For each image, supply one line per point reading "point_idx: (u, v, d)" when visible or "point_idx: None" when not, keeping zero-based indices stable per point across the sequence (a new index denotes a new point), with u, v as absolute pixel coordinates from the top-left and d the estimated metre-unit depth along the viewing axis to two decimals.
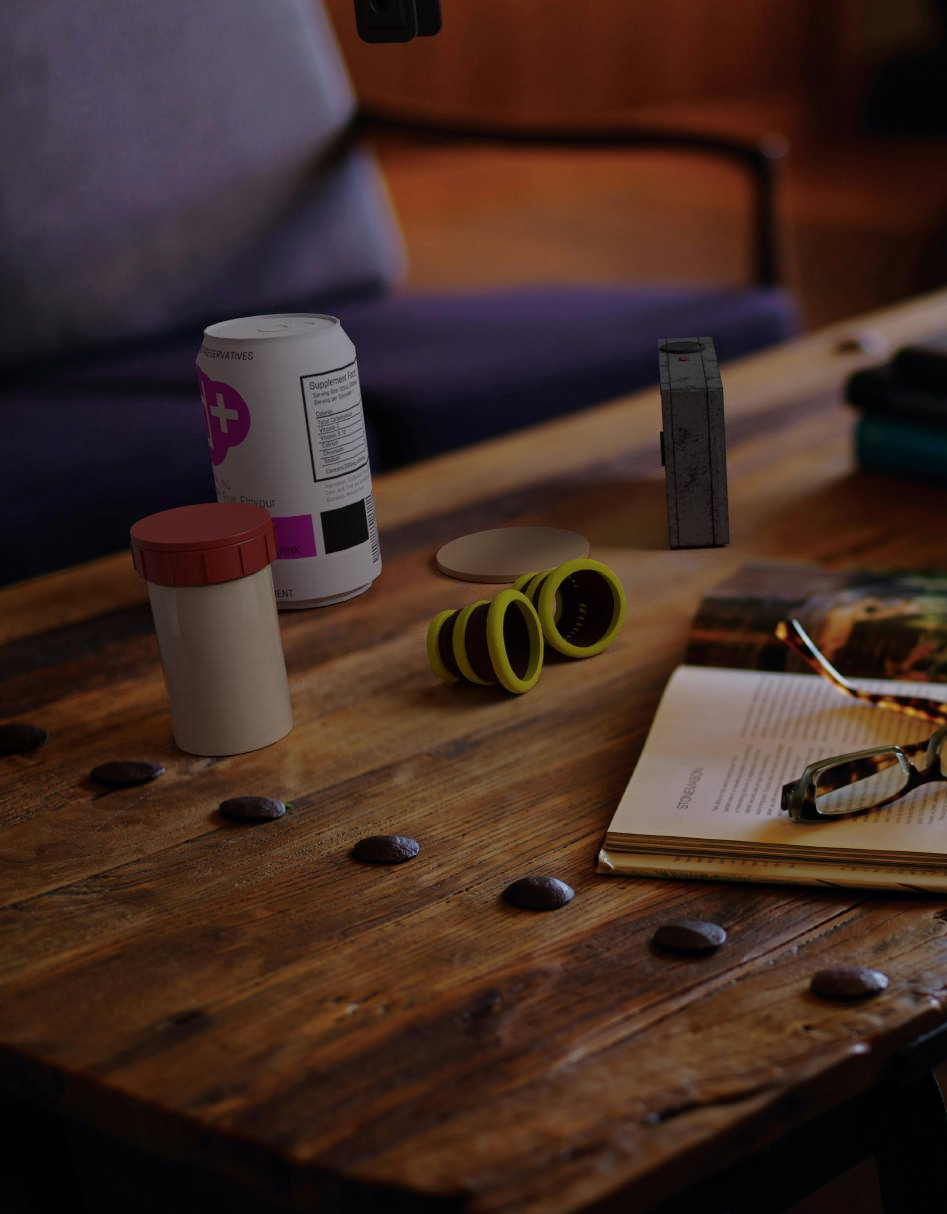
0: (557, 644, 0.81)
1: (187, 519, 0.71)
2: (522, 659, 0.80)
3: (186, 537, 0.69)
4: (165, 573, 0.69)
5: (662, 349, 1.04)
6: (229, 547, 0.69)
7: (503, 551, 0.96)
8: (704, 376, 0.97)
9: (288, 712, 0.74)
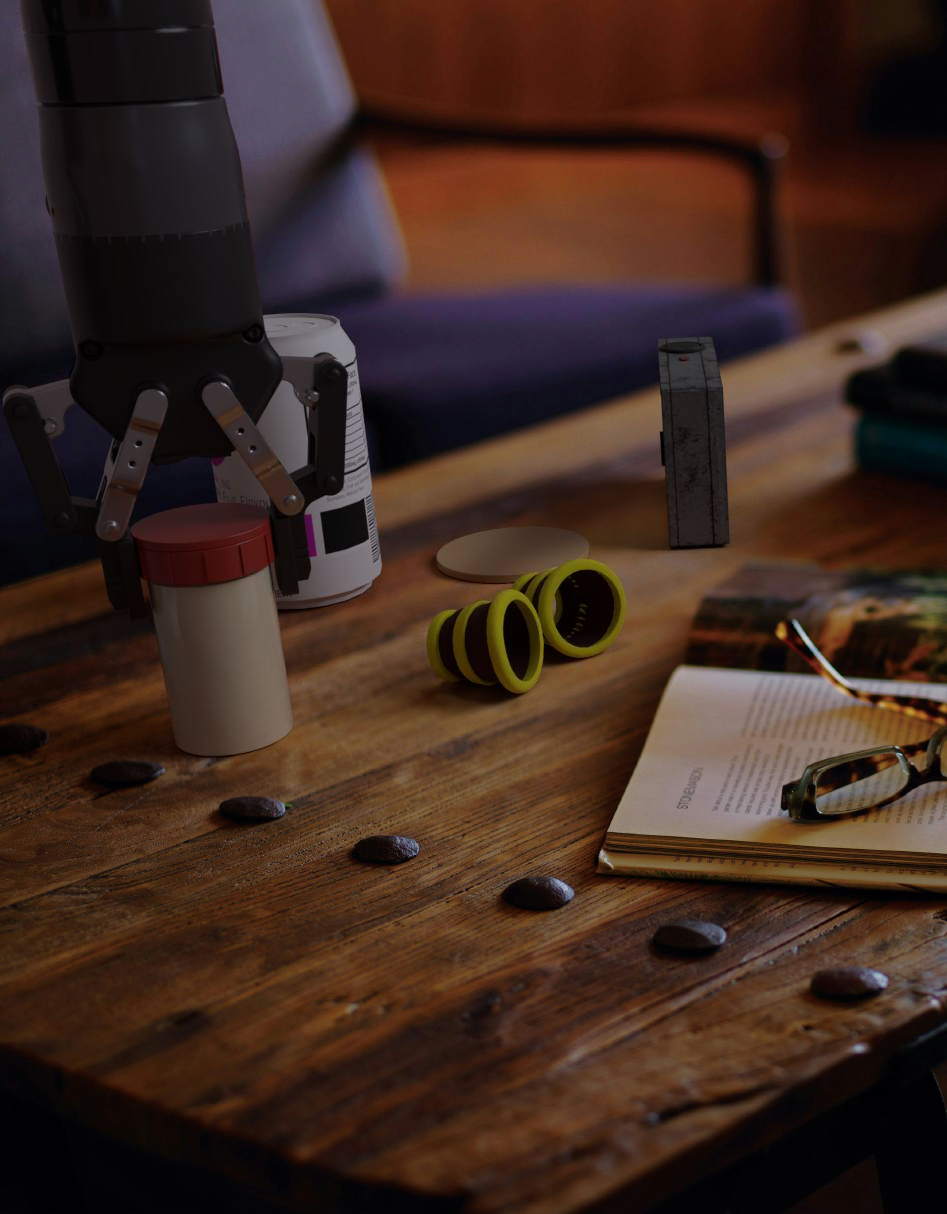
0: (557, 644, 0.81)
1: (187, 519, 0.71)
2: (522, 659, 0.80)
3: (186, 537, 0.69)
4: (165, 573, 0.69)
5: (662, 349, 1.04)
6: (229, 547, 0.69)
7: (503, 551, 0.96)
8: (704, 376, 0.97)
9: (288, 712, 0.74)
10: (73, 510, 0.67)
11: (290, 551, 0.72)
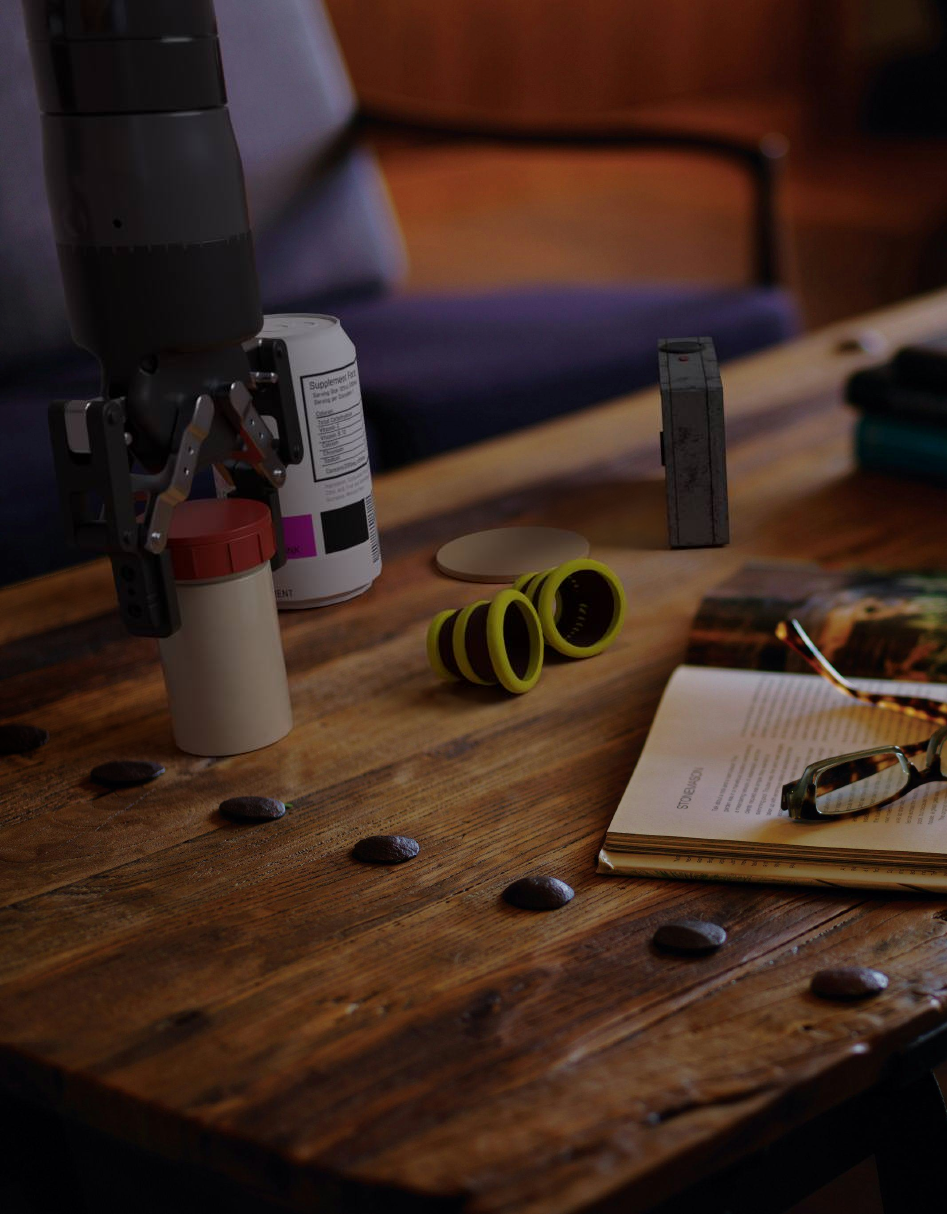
0: (557, 644, 0.81)
1: (182, 521, 0.70)
2: (522, 659, 0.80)
3: (249, 517, 0.71)
4: (257, 554, 0.70)
5: (662, 349, 1.04)
6: None
7: (503, 551, 0.96)
8: (704, 376, 0.97)
9: (288, 712, 0.74)
10: (134, 525, 0.64)
11: (280, 524, 0.75)
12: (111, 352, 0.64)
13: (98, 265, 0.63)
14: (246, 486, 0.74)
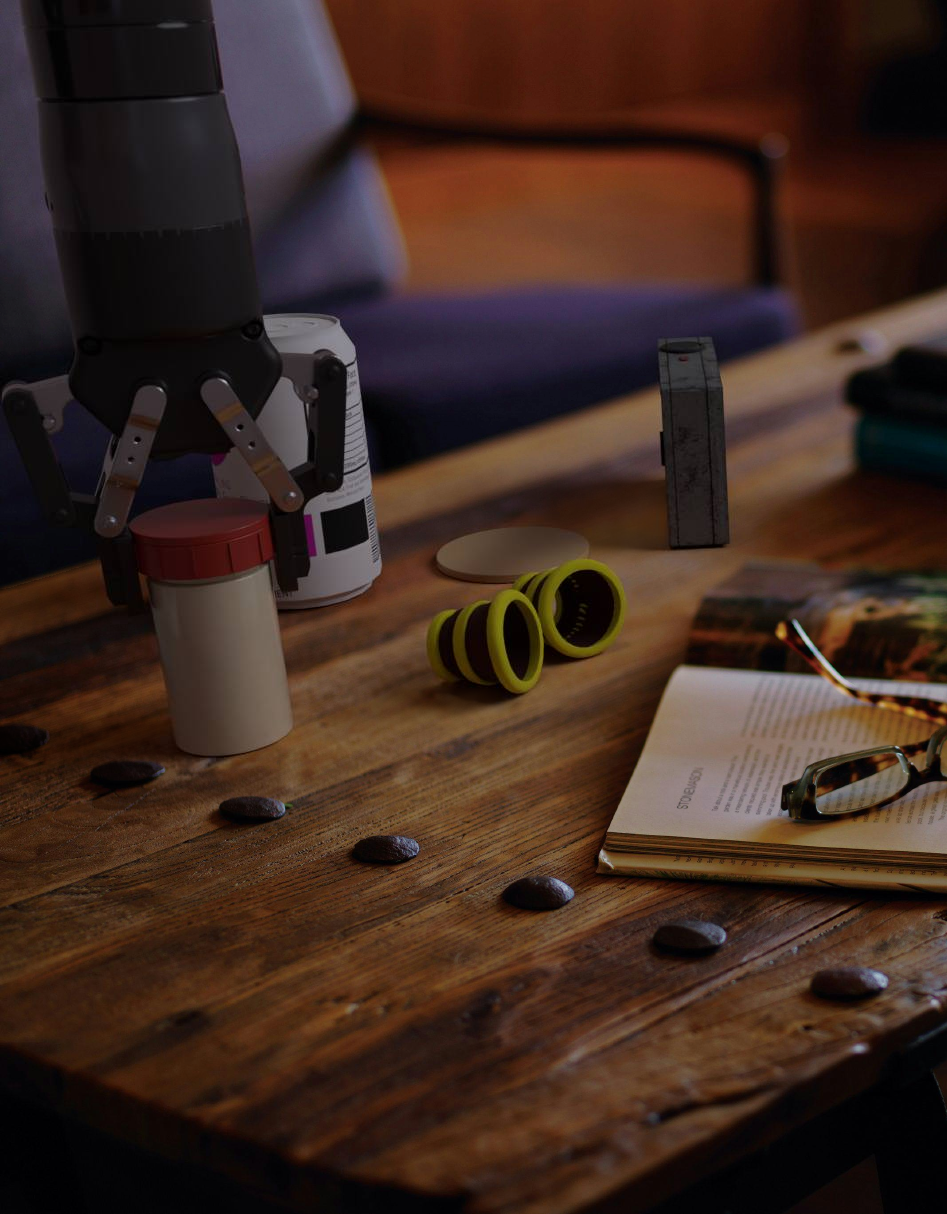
0: (557, 644, 0.81)
1: (182, 521, 0.70)
2: (522, 659, 0.80)
3: (249, 517, 0.71)
4: (256, 553, 0.70)
5: (662, 349, 1.04)
6: None
7: (503, 551, 0.96)
8: (704, 376, 0.97)
9: (288, 712, 0.74)
10: (71, 506, 0.67)
11: (289, 548, 0.72)
12: (71, 329, 0.67)
13: None
14: (271, 501, 0.72)
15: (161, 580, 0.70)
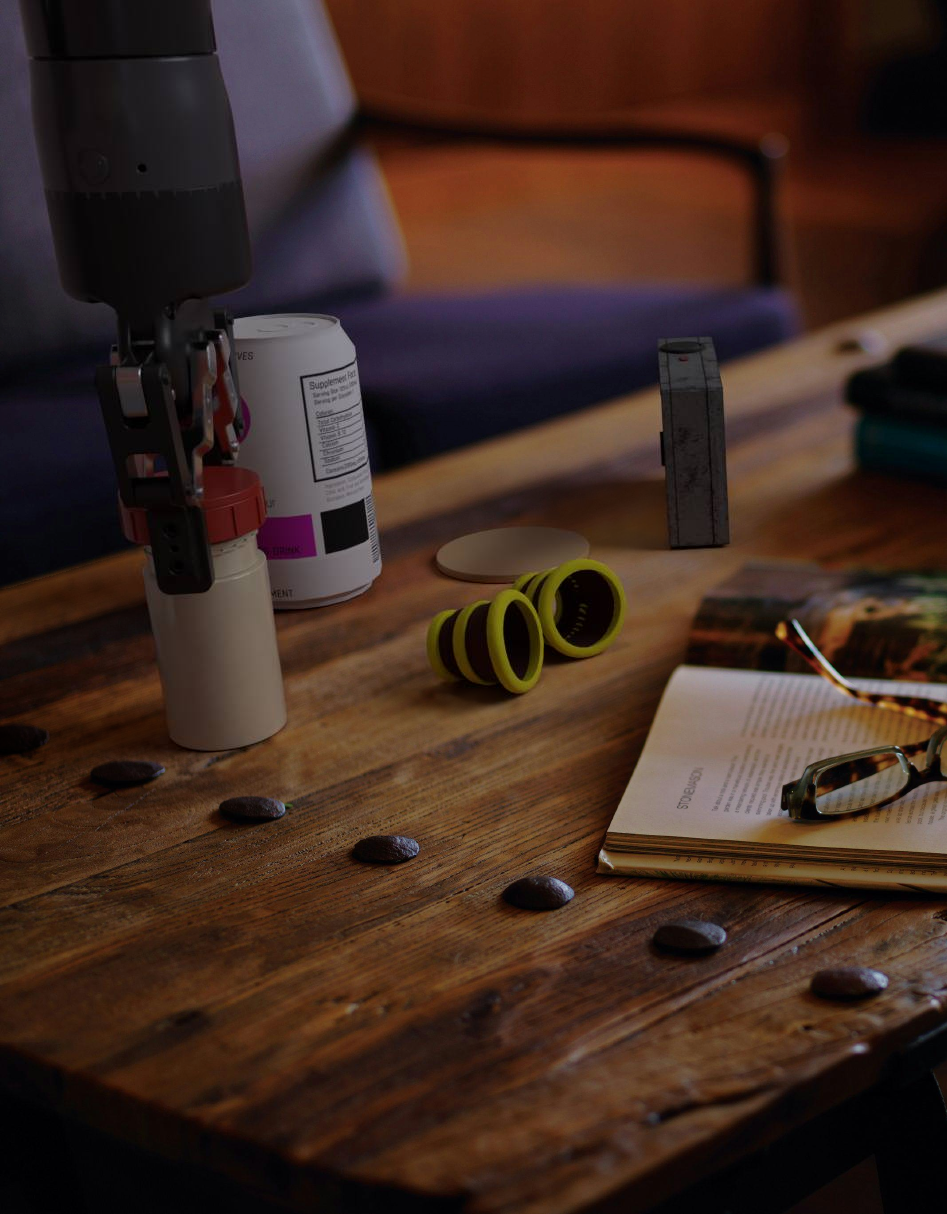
0: (557, 644, 0.81)
1: None
2: (522, 659, 0.80)
3: (225, 470, 0.72)
4: None
5: (662, 349, 1.04)
6: None
7: (503, 551, 0.96)
8: (704, 376, 0.97)
9: (285, 701, 0.75)
10: (189, 479, 0.65)
11: None
12: (132, 300, 0.64)
13: (120, 211, 0.63)
14: (202, 460, 0.73)
15: None
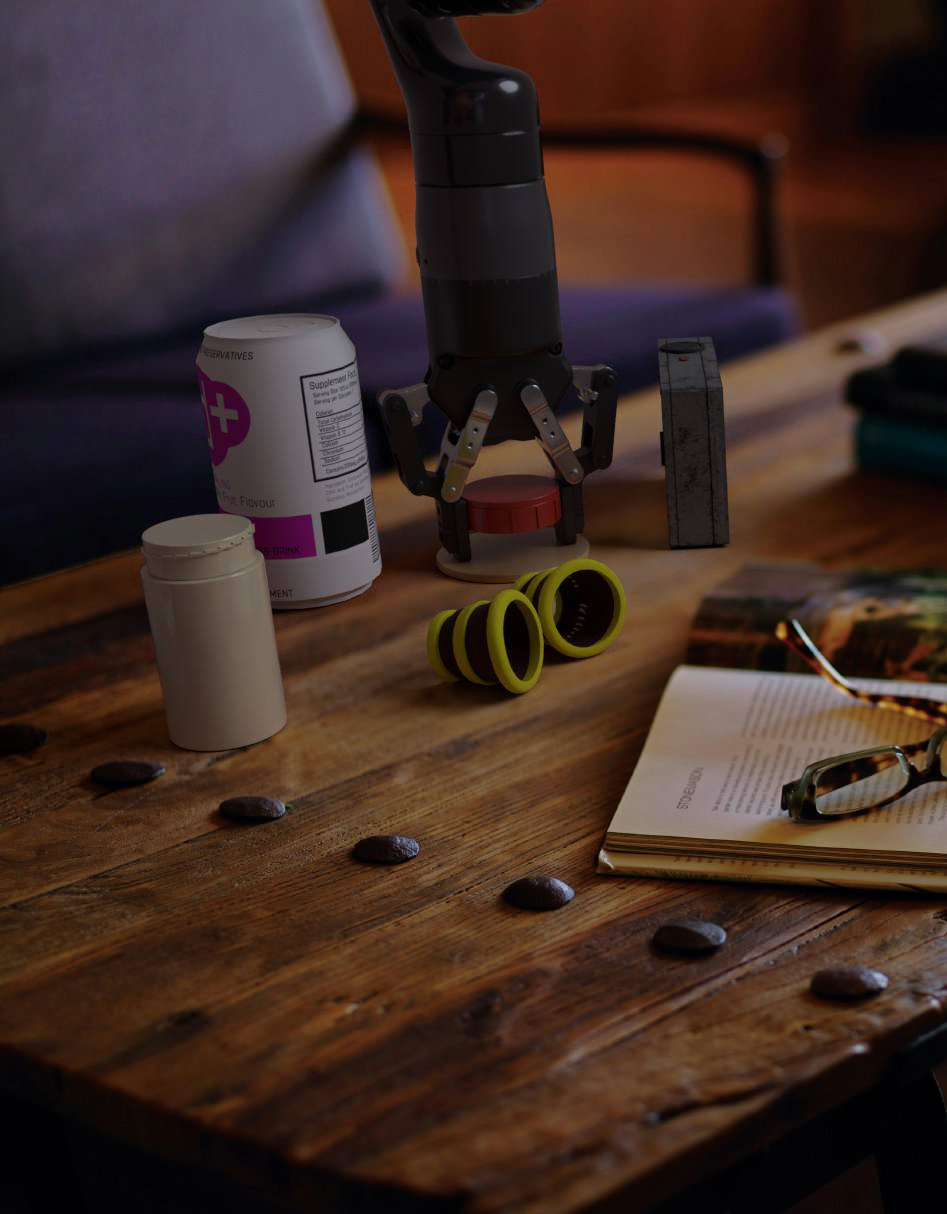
0: (557, 644, 0.81)
1: (498, 491, 0.95)
2: (522, 659, 0.80)
3: (546, 487, 0.95)
4: (553, 515, 0.95)
5: (662, 349, 1.04)
6: None
7: (503, 551, 0.96)
8: (704, 376, 0.97)
9: (285, 702, 0.75)
10: (427, 479, 0.92)
11: (572, 511, 0.96)
12: (429, 349, 0.91)
13: (422, 288, 0.90)
14: (557, 476, 0.97)
15: (164, 578, 0.70)
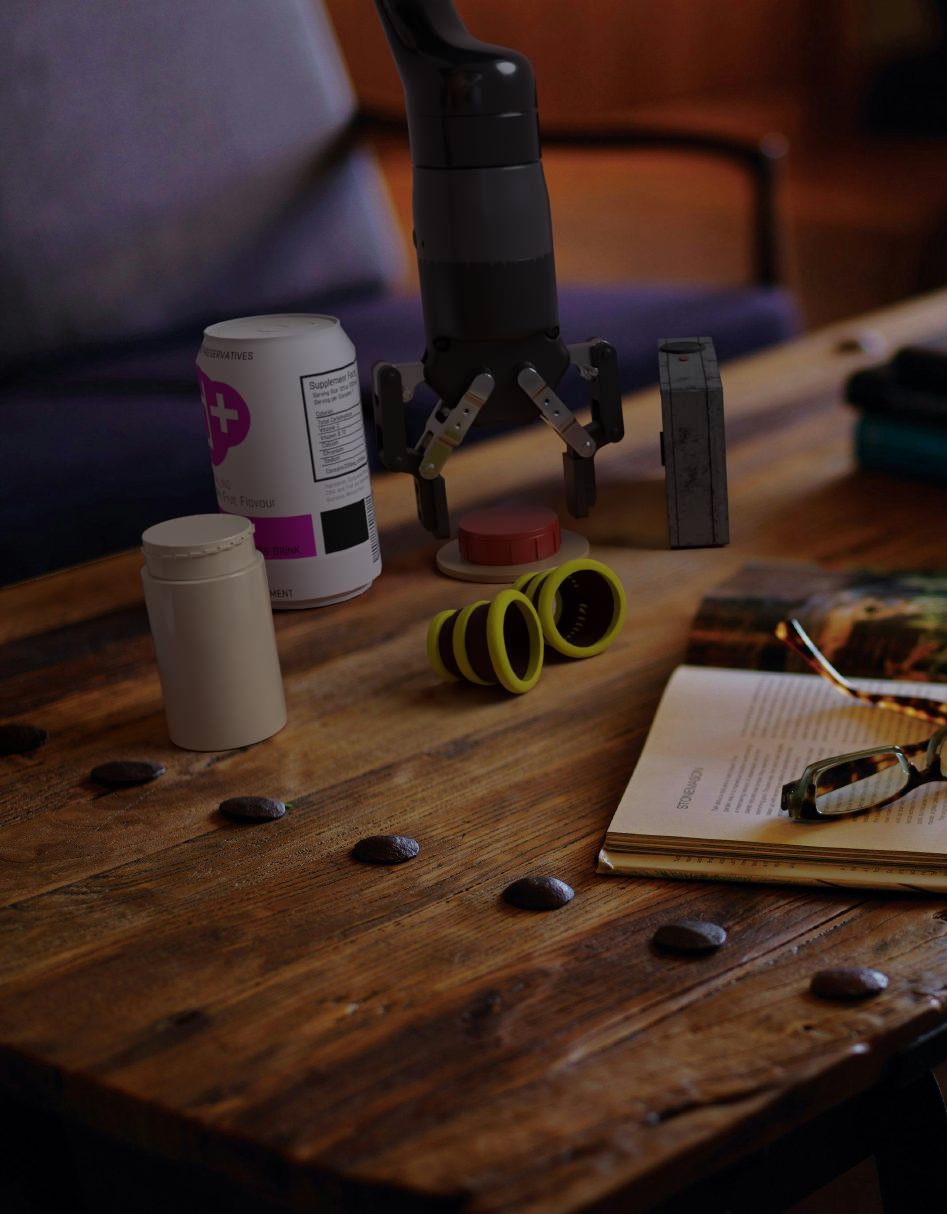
0: (557, 644, 0.81)
1: (497, 522, 0.95)
2: (522, 659, 0.80)
3: (545, 519, 0.96)
4: (552, 546, 0.95)
5: (662, 349, 1.04)
6: None
7: None
8: (704, 376, 0.97)
9: (285, 702, 0.75)
10: (405, 455, 0.91)
11: (584, 484, 0.96)
12: (425, 332, 0.91)
13: (419, 270, 0.89)
14: (569, 450, 0.96)
15: (164, 578, 0.70)
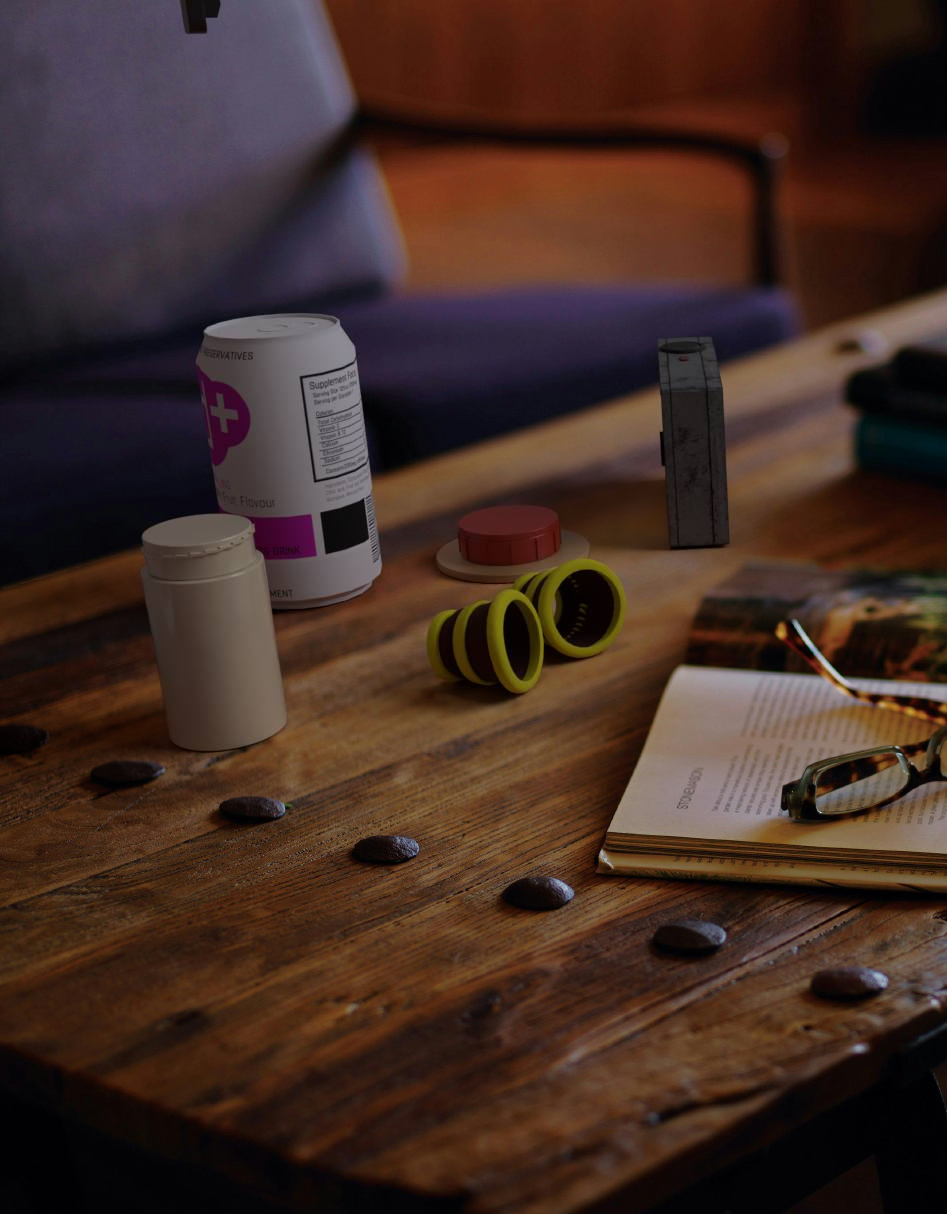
0: (557, 644, 0.81)
1: (497, 522, 0.95)
2: (522, 659, 0.80)
3: (545, 519, 0.96)
4: (552, 546, 0.95)
5: (662, 349, 1.04)
6: None
7: None
8: (704, 376, 0.97)
9: (285, 702, 0.75)
10: None
11: None
12: None
13: None
14: None
15: (164, 578, 0.70)
